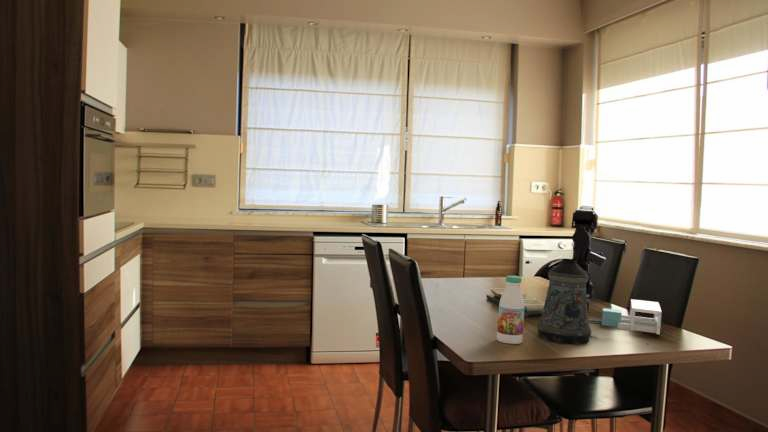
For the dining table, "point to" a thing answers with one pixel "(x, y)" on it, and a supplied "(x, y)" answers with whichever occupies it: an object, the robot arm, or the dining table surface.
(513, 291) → the milk bottle
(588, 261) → the robot arm
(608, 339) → the dining table surface
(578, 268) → the beer stein
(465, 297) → the dining table surface
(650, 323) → the shelf
